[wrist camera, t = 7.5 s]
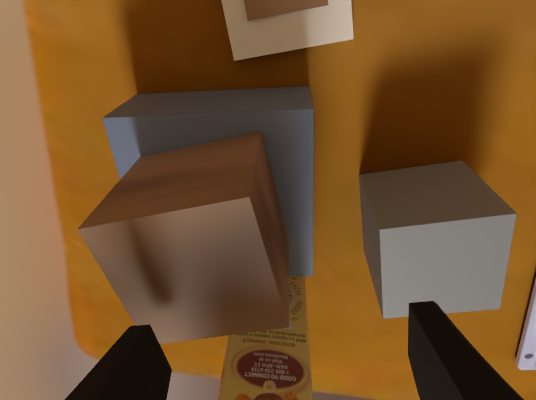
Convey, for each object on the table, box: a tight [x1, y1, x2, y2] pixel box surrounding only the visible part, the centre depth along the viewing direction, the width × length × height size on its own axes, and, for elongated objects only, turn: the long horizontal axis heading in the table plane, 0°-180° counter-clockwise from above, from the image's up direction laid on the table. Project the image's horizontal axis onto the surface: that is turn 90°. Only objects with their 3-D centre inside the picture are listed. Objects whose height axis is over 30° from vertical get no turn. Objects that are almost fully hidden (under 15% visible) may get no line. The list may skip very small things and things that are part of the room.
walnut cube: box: [78, 131, 289, 344], centre depth 13 cm, size 5×5×5 cm
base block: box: [102, 86, 314, 276], centre depth 17 cm, size 8×8×4 cm
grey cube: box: [359, 160, 517, 319], centre depth 17 cm, size 5×5×5 cm
